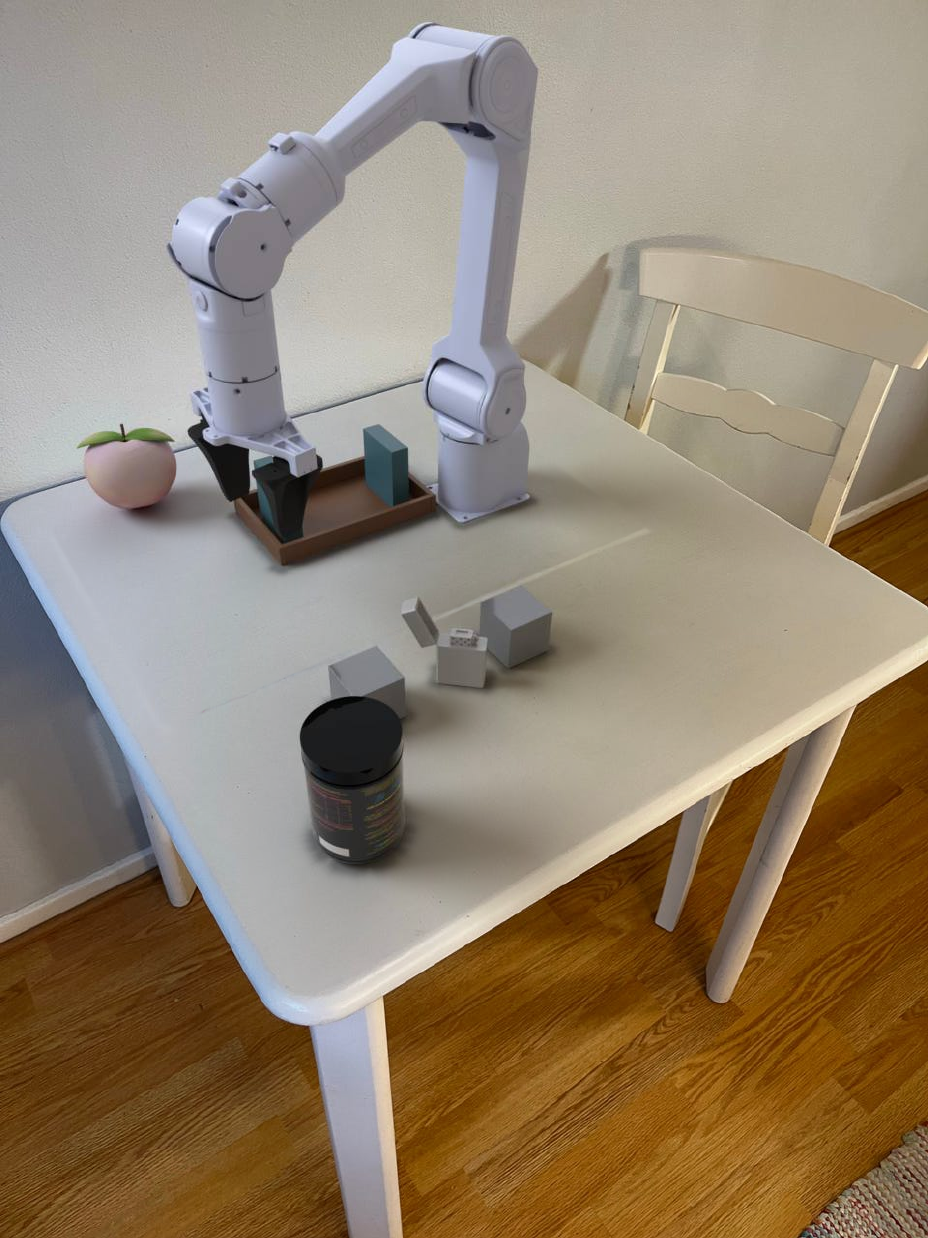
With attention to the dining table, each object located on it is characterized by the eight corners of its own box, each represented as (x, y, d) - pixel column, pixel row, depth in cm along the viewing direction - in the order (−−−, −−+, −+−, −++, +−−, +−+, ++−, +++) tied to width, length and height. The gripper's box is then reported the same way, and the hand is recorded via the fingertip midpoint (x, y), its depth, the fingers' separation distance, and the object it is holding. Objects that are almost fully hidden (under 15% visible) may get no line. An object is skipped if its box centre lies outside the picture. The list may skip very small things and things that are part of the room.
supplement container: (420, 808, 67) (419, 711, 60) (382, 882, 62) (376, 785, 55) (338, 782, 69) (328, 684, 62) (295, 851, 64) (279, 754, 57)
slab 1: (278, 512, 95) (271, 454, 91) (304, 540, 92) (297, 481, 87) (261, 518, 95) (252, 460, 90) (286, 546, 91) (279, 487, 86)
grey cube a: (518, 622, 83) (521, 584, 81) (548, 650, 81) (552, 612, 78) (478, 640, 81) (480, 601, 79) (508, 669, 79) (511, 630, 76)
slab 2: (381, 479, 101) (378, 423, 96) (409, 504, 97) (408, 447, 93) (365, 484, 100) (362, 428, 96) (393, 509, 96) (391, 452, 92)
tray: (383, 468, 104) (382, 449, 102) (436, 514, 97) (436, 495, 95) (235, 515, 96) (232, 495, 94) (281, 569, 89) (279, 549, 87)
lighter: (485, 674, 78) (490, 603, 73) (483, 688, 77) (487, 616, 72) (405, 665, 79) (404, 594, 74) (401, 678, 77) (400, 607, 72)
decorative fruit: (101, 539, 92) (76, 453, 85) (91, 499, 97) (67, 415, 91) (194, 520, 95) (177, 435, 88) (179, 481, 100) (162, 399, 94)
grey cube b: (378, 684, 77) (376, 645, 74) (405, 716, 74) (405, 677, 71) (331, 705, 75) (327, 665, 72) (358, 739, 72) (355, 699, 69)
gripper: (146, 352, 71) (177, 498, 80) (255, 416, 64) (276, 569, 72) (222, 328, 75) (243, 469, 84) (332, 386, 68) (343, 534, 76)
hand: (263, 513), depth 78 cm, fingers open, 7 cm apart
